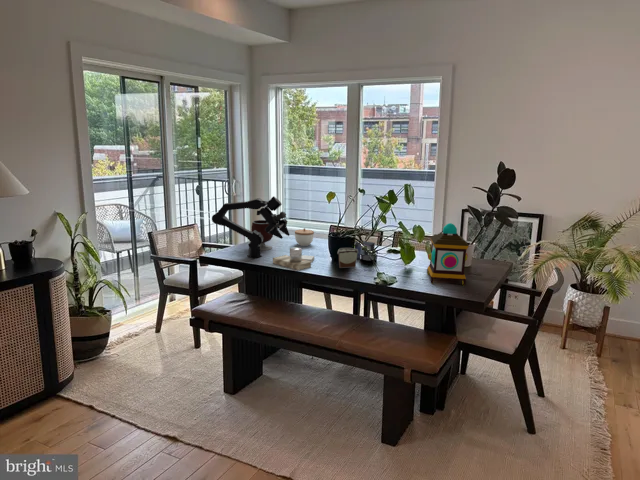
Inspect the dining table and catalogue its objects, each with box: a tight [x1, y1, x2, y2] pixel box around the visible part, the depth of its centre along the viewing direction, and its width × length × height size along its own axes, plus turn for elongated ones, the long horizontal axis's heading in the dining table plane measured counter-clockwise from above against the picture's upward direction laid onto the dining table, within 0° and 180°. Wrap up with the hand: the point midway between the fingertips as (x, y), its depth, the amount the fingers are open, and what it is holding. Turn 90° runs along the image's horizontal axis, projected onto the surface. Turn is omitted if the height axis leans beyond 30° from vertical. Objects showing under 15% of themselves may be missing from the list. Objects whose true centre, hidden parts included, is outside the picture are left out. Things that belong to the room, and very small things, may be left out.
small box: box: [354, 240, 376, 261], centre depth 284 cm, size 11×6×10 cm, turn 62°
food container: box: [336, 247, 359, 269], centre depth 268 cm, size 12×6×10 cm, turn 108°
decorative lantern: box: [426, 222, 469, 286], centre depth 246 cm, size 20×20×30 cm
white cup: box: [289, 246, 303, 263], centre depth 264 cm, size 7×7×10 cm
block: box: [302, 254, 315, 264], centre depth 278 cm, size 8×8×2 cm
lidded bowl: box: [294, 228, 315, 247], centre depth 317 cm, size 13×13×11 cm
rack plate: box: [272, 254, 312, 271], centre depth 268 cm, size 20×10×3 cm, turn 49°
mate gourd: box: [251, 219, 274, 251], centre depth 303 cm, size 16×14×20 cm
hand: (285, 236), depth 276 cm, fingers open, 9 cm apart
